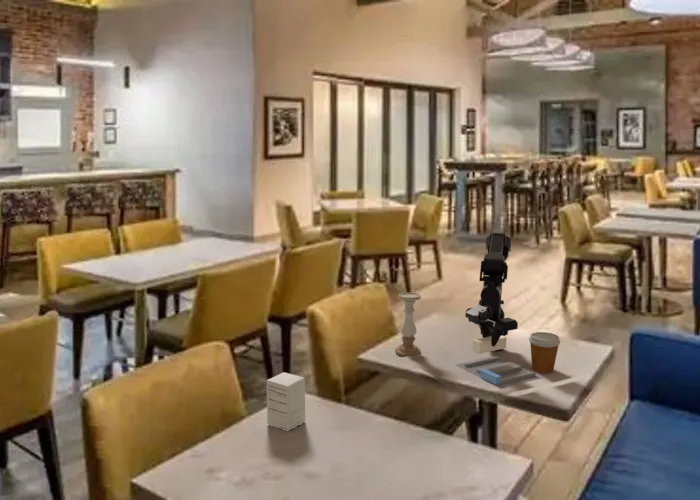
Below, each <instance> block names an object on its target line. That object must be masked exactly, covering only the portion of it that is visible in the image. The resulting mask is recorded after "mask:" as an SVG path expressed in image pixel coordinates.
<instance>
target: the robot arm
mask: <svg viewBox="0 0 700 500" xmlns="http://www.w3.org/2000/svg"><path fill="white" fill-rule="evenodd" d="M485 250H486V251H487V253H486V254H484V257H483V260H481V261H480V270H479V282H483V284H482V285H483V286H482V289H481V292H480V296H479V297H480V299H479V301H478V305H475V306H474V307H469V308H467V309H466V310H465V316H464V317H465V318H467V319H468V322H469V323H474V325H477V326H478V327H479V329H480V335H481V336H482V337H481V338H485V337H490V336H491V344H492V346H495V345H496V343H497V342H498V340H499V338H500V336H501V335H502V336H504V337H506V336H508V335H509V331H514V330H518V327H519V326H518V325H519V324H518V321H517V320H516V319H514V318H511V317H505V316H506V315H505V314H506V313H505V311H504V310H503V308H502V305H504V304H505V301H504V300H503V299H502V294H503V293H502V292H503V284H504V283H506V280H508V272H509V269H508V268H509V265H508V263H507V260H508V258H509V254H510V253H511V252H512V238H511V237H509V236H508V235H507V234H506V233H503V232H491V233H490V234H489V235H488V236H486V239H485ZM503 350H504V349H499V350H495V351H494V352H502V351H503Z"/></svg>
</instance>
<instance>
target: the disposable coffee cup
mask: <svg viewBox="0 0 700 500" xmlns="http://www.w3.org/2000/svg"><path fill="white" fill-rule="evenodd" d="M528 340H529V343H530V344H529V345H530V354H531V356H530V357H531V369H532V372H535V373H540V374H551V373H553V372H554V368H555V364H556V359H557V355H558V350H559V345H560V343H561V340H560V337H559V335H557V334H554V333H553V332H545V331H542V332H541V331H538V332H537V331H536V332H532V333H531V334H530V335H529V338H528Z"/></svg>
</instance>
